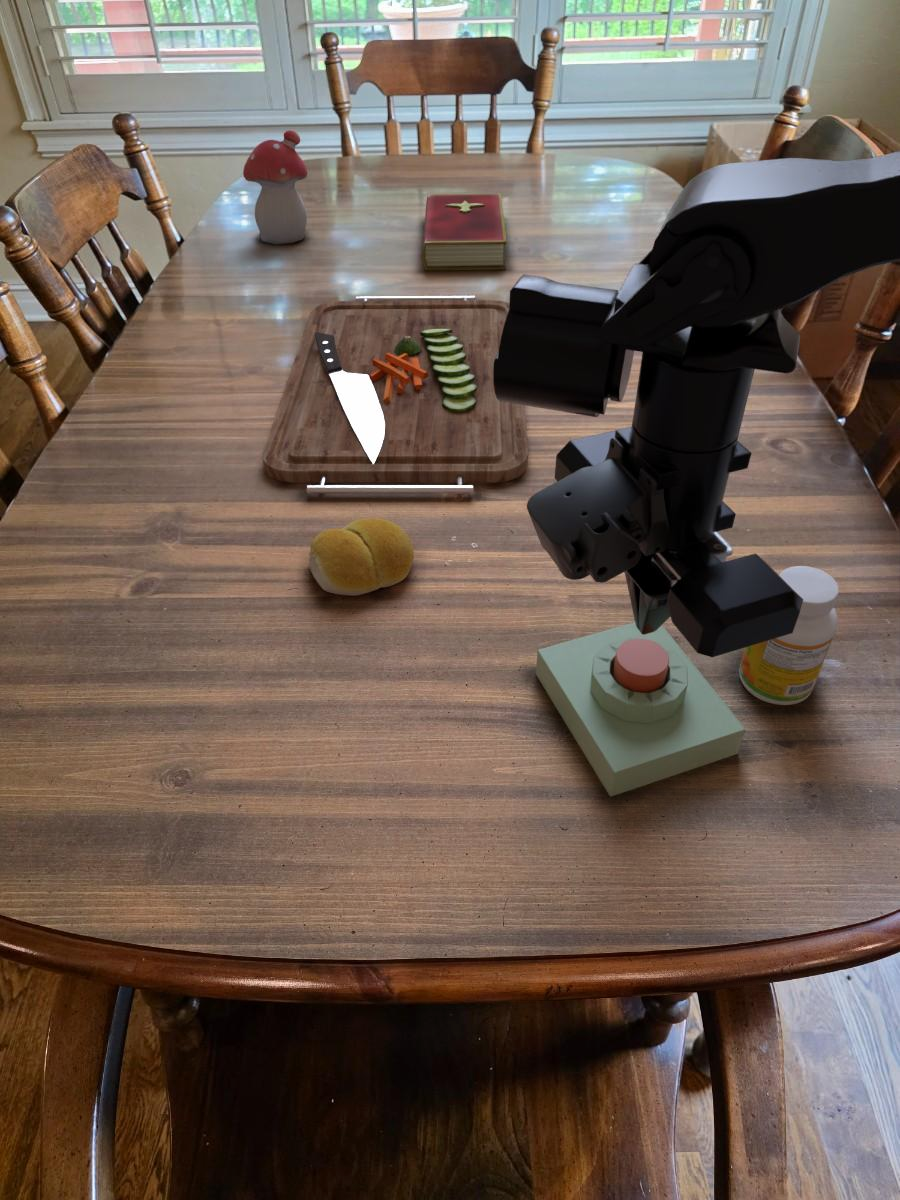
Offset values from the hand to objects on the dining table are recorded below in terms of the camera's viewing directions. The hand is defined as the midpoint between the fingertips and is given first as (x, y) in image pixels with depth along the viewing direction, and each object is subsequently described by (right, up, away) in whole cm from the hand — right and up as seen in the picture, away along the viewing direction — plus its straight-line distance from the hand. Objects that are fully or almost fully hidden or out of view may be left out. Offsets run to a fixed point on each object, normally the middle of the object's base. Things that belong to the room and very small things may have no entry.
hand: (645, 629), depth 58 cm
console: (0, -6, +6) cm, 8 cm away
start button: (0, -3, +3) cm, 4 cm away
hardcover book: (-11, +57, +75) cm, 95 cm away
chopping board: (-18, +27, +43) cm, 54 cm away
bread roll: (-21, +5, +18) cm, 28 cm away
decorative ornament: (-39, +59, +78) cm, 105 cm away
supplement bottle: (+11, -4, +8) cm, 15 cm away
